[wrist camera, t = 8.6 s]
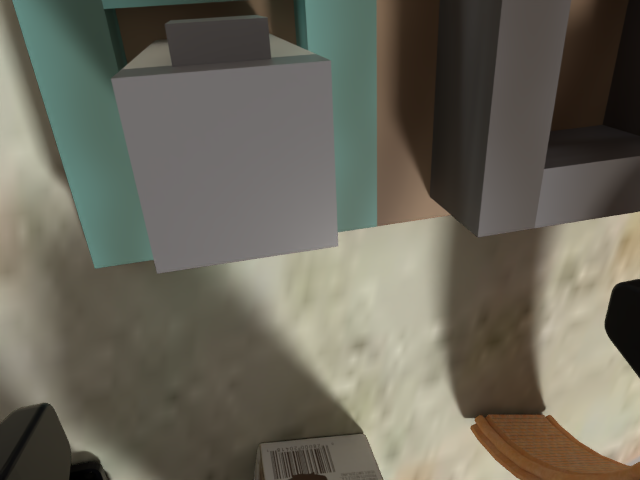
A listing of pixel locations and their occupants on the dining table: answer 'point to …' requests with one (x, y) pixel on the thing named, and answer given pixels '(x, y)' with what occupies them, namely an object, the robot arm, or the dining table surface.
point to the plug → (229, 143)
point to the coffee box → (317, 459)
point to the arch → (545, 450)
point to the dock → (383, 106)
